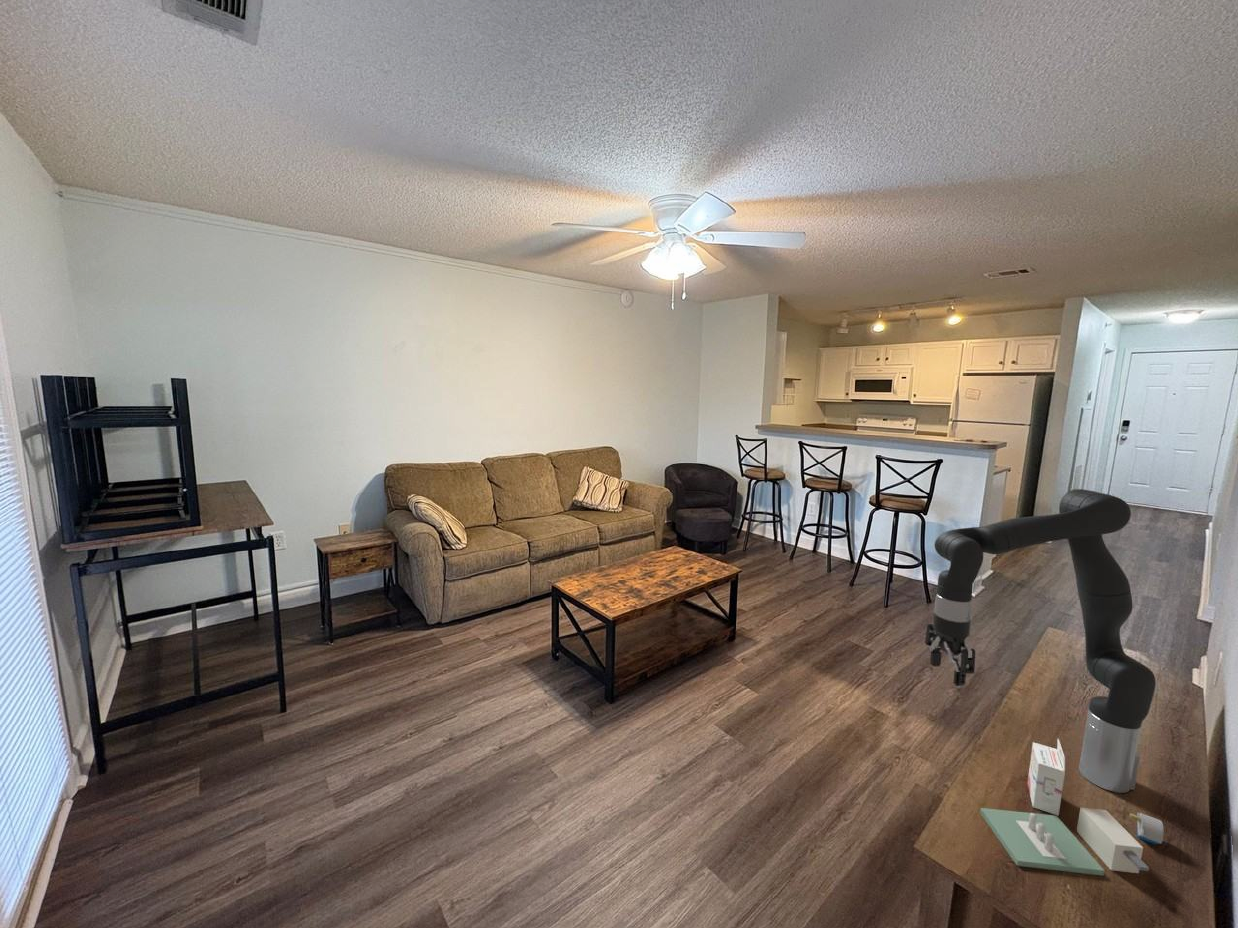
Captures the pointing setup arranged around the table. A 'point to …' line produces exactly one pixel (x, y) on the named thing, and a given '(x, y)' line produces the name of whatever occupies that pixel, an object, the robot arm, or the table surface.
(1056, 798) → the ink cartridge box
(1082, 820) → the plug housing
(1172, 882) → the table surface
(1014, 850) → the board
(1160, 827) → the electric motor
